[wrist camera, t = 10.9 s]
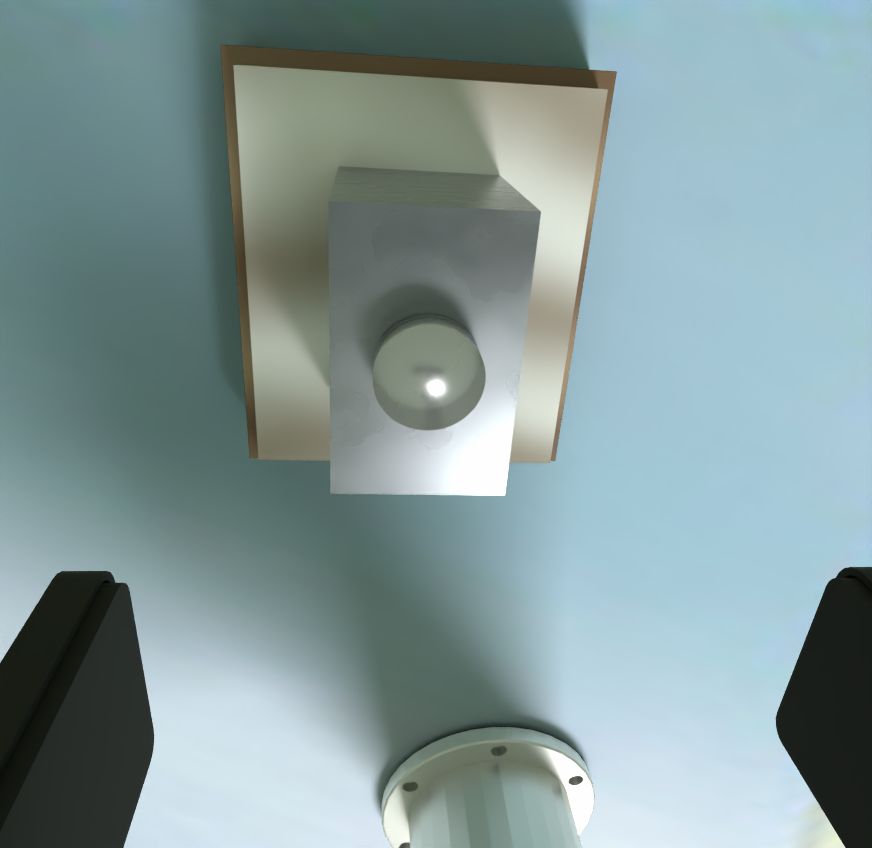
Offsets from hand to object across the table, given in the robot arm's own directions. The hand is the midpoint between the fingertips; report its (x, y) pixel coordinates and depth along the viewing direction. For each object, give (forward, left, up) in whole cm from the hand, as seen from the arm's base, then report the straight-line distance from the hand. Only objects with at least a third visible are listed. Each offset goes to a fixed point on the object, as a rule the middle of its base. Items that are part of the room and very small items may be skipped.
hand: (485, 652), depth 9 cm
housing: (0, 0, -16) cm, 16 cm away
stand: (0, 0, -20) cm, 20 cm away
